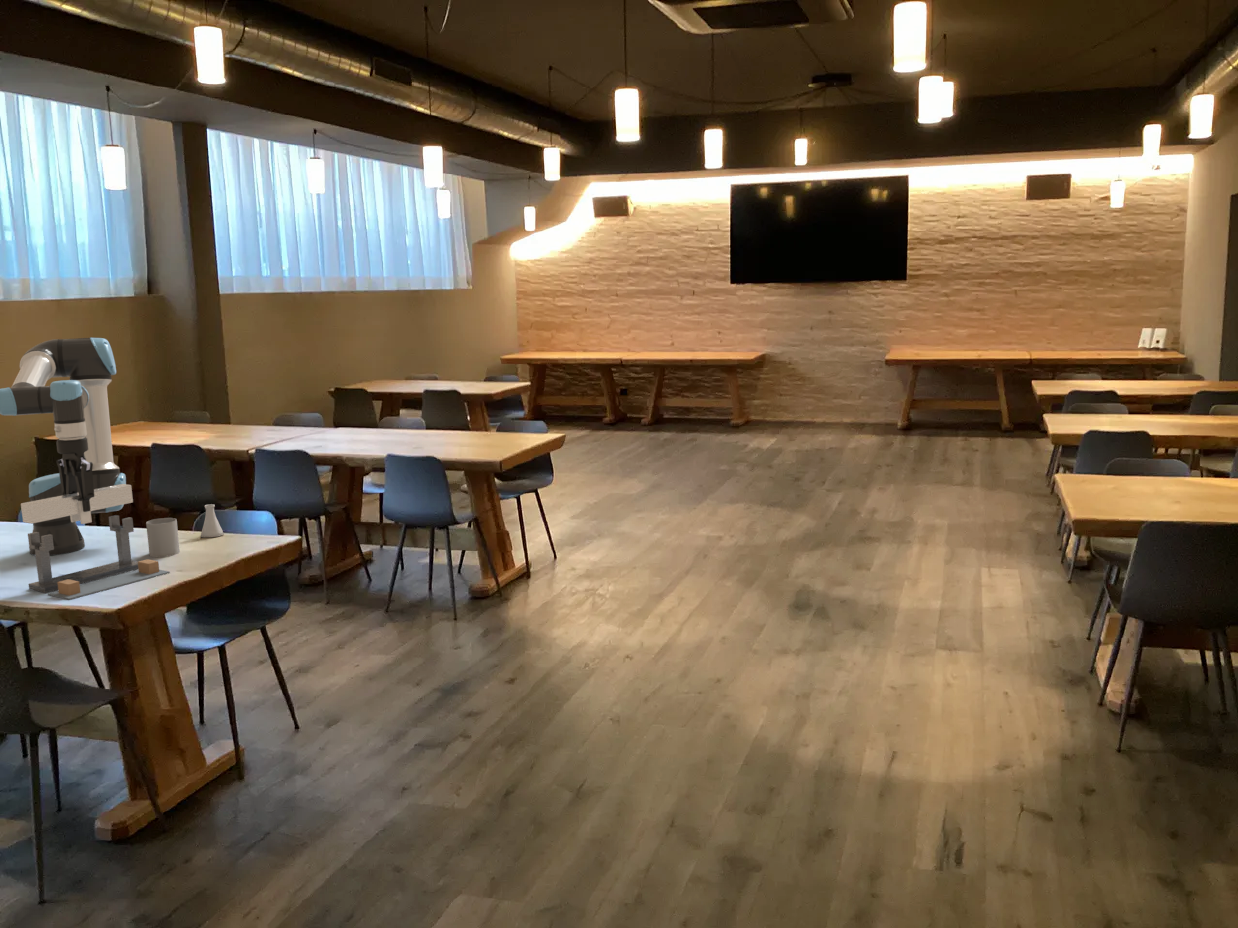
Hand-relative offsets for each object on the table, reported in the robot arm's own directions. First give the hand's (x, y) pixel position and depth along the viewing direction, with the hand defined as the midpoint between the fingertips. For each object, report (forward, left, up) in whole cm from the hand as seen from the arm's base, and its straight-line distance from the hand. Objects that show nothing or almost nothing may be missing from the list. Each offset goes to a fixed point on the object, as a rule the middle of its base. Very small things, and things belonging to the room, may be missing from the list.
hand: (81, 521), depth 292 cm
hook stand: (0, 0, -16) cm, 16 cm away
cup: (-6, +28, -16) cm, 33 cm away
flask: (-13, +50, -16) cm, 54 cm away
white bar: (0, 0, +3) cm, 3 cm away
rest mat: (+11, 0, -16) cm, 20 cm away
